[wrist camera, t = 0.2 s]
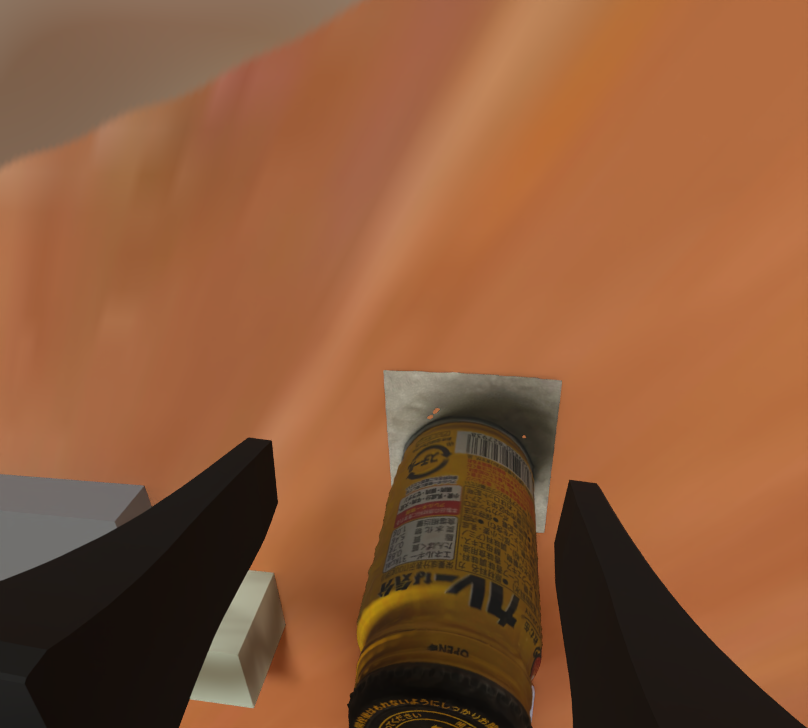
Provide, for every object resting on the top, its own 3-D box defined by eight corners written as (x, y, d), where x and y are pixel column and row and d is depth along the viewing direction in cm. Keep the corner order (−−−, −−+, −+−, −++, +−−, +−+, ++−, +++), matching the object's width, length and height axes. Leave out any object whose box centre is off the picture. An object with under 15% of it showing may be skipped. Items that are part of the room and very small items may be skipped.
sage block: (285, 623, 34) (253, 708, 29) (215, 615, 34) (174, 696, 30) (274, 571, 32) (237, 654, 27) (199, 564, 32) (152, 644, 28)
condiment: (393, 516, 28) (327, 791, 18) (384, 368, 24) (291, 613, 14) (544, 529, 27) (567, 830, 17) (561, 376, 23) (607, 651, 12)
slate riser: (187, 594, 34) (161, 638, 32) (57, 579, 36) (21, 620, 33) (148, 480, 30) (114, 521, 27) (1, 468, 32) (-44, 506, 29)
